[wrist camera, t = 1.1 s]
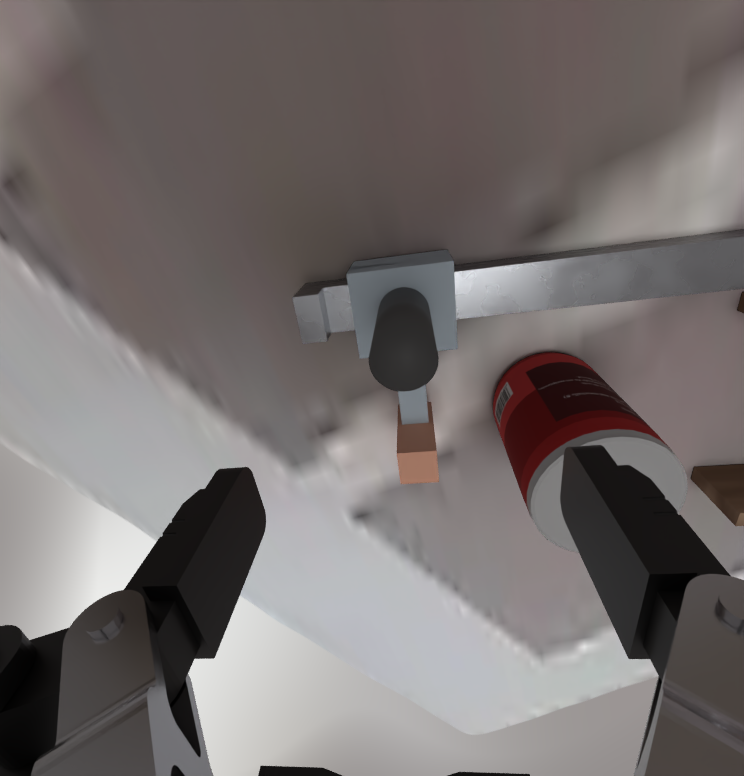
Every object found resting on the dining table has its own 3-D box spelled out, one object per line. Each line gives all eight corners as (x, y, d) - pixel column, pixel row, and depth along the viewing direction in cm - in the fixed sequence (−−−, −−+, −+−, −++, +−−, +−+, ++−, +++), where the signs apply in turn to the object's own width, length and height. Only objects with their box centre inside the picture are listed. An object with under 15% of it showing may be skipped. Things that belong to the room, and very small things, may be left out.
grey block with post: (353, 261, 26) (324, 310, 17) (447, 249, 26) (472, 293, 16) (379, 427, 32) (367, 534, 23) (455, 421, 31) (478, 529, 22)
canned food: (514, 455, 33) (560, 572, 23) (472, 378, 30) (504, 474, 20) (611, 417, 31) (706, 528, 21) (576, 329, 28) (668, 411, 18)
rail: (305, 283, 28) (292, 297, 25) (801, 222, 24) (862, 229, 21) (313, 325, 29) (302, 343, 26) (785, 273, 25) (840, 287, 22)
